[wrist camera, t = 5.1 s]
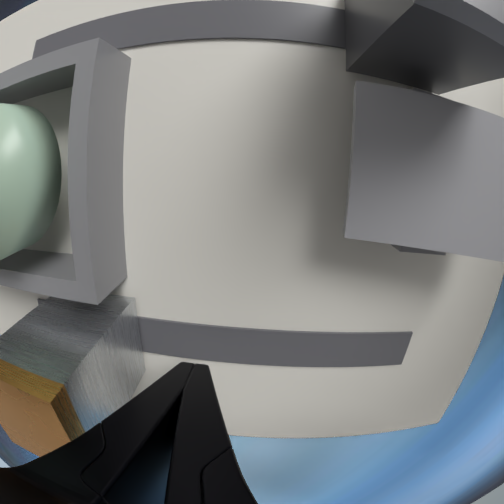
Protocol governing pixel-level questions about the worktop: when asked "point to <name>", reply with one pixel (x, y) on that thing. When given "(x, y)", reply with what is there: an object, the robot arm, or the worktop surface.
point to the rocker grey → (425, 173)
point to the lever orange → (67, 369)
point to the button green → (26, 177)
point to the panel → (236, 212)
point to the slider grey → (426, 41)
